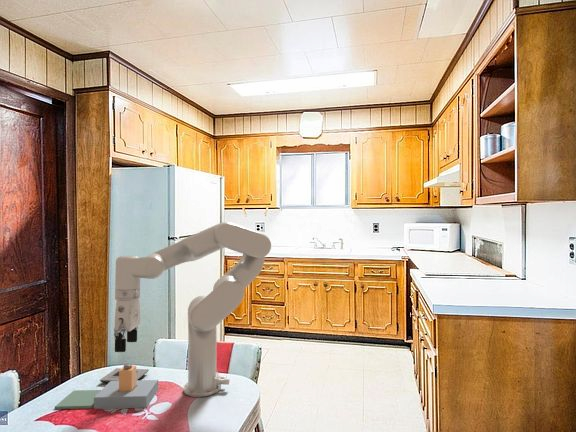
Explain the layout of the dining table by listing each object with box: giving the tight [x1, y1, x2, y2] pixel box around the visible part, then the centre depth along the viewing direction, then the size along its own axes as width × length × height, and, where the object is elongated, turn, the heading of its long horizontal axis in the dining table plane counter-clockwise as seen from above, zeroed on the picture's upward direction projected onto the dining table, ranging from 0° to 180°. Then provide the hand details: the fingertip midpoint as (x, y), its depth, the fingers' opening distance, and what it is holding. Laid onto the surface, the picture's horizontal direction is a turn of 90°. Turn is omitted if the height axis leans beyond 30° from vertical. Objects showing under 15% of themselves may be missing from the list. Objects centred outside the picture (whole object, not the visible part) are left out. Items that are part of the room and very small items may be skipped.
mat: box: [54, 389, 102, 410], centre depth 120 cm, size 11×11×1 cm
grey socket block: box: [93, 379, 159, 410], centre depth 121 cm, size 16×12×4 cm
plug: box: [119, 363, 137, 392], centre depth 121 cm, size 4×4×11 cm
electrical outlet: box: [99, 367, 150, 383], centre depth 137 cm, size 13×10×2 cm
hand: (126, 346), depth 121 cm, fingers open, 9 cm apart
